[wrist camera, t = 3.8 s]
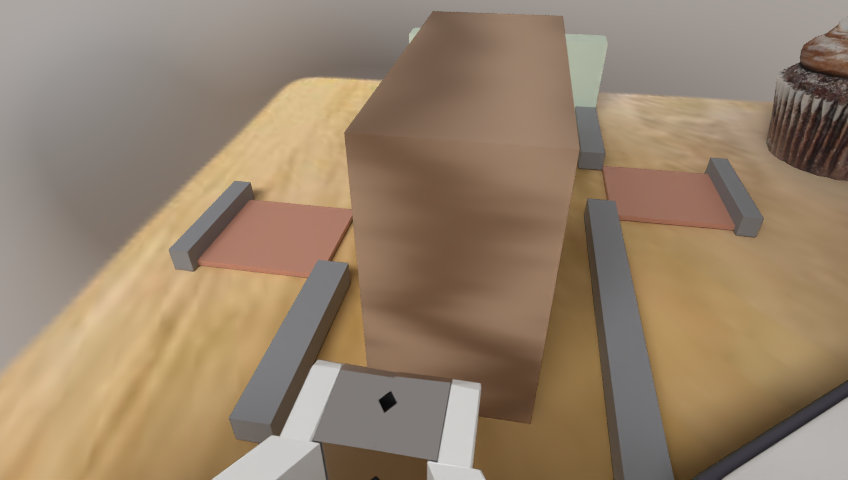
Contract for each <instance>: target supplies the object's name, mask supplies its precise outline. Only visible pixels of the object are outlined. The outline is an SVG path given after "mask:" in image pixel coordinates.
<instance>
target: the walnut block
mask: <svg viewBox="0 0 848 480" xmlns="http://www.w3.org/2000/svg"><path fill="white" fill-rule="evenodd" d="M344 133H345V144H346V154H347V164H348V174H349V184H350V195H351V205H352V215H353V225H354V235H355V245H356V256H357V266H358V276H359V286H360V296H361V307H362V317H363V327H364V337H365V347H366V358H367V367H368V368H374V369H380V370H386V371H391V372H397V373H398V372H405V373H413V374H420V375H428V376H436V377H444V378H451V379H452V381H453V379H455V380H462V381H468V382H475V383H481V396H480V406H479V416H480V417H487V418H494V419H500V420H507V421H514V422H521V423H527V424H530V423H531V418H532V412H533V407H534V401H535V396H536V390H537V384H538V379H539V373H540V368H541V362H542V356H543V351H544V345H545V340H546V334H547V329H548V323H549V317H550V312H551V306H552V301H553V295H554V290H555V284H556V278H557V273H558V267H559V262H560V256H561V251H562V245H563V239H564V234H565V228H566V223H567V217H568V212H569V206H570V200H571V195H572V189H573V184H574V178H575V173H576V167H577V161H578V156H579V150H580V148H579V140H578V132H577V124H576V116H575V108H574V100H573V92H572V84H571V76H570V68H569V60H568V52H567V44H566V36H565V29H564V20H563V16H549V15H523V14H521V15H520V14H495V13H467V12H439V11H433V12H432V13H431V15H430V16H429V17H428V19H427V20H426V22H425V23H424V24H423V26H422V27H421V28H420V30H419V31H418V33H417V34H416V35H415V37H414V38H413V39H412V41H411V42H410V43H409V45H408V46H407V48H406V49H405V50H404V52H403V53H402V54H401V56H400V57H399V59H398V60H397V61H396V63H395V64H394V65H393V67H392V68H391V70H390V71H389V72H388V74H387V75H386V76H385V78H384V79H383V80H382V82H381V83H380V84H379V86H378V87H377V89H376V90H375V91H374V93H373V94H372V95H371V97H370V98H369V99H368V101H367V102H366V104H365V105H364V106H363V108H362V109H361V110H360V112H359V113H358V115H357V116H356V117H355V119H354V120H353V121H352V123H351V124H350V125H349V127H348V128H347V130H346V131H345V132H344Z"/></svg>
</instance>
